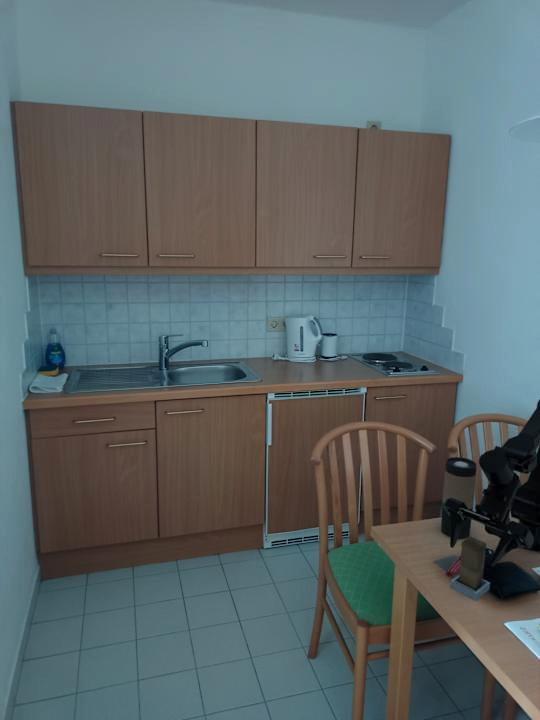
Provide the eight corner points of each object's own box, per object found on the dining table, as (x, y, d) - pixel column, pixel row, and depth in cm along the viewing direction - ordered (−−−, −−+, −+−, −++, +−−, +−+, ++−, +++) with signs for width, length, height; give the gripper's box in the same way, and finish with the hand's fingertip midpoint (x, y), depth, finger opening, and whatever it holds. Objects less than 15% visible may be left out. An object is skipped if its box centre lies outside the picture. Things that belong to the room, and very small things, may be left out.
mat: (454, 556, 129) (454, 554, 128) (477, 571, 122) (477, 569, 122) (432, 563, 125) (432, 561, 125) (455, 579, 119) (455, 577, 119)
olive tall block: (466, 581, 118) (470, 536, 116) (481, 588, 115) (486, 543, 113) (457, 587, 116) (461, 542, 113) (473, 595, 113) (478, 549, 111)
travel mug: (434, 528, 142) (439, 458, 138) (458, 524, 144) (464, 455, 140) (451, 542, 134) (458, 469, 131) (476, 538, 137) (483, 466, 133)
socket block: (463, 578, 120) (464, 569, 119) (489, 590, 115) (490, 581, 115) (450, 588, 116) (450, 579, 115) (475, 602, 111) (476, 593, 111)
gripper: (550, 525, 116) (523, 589, 111) (470, 496, 130) (443, 552, 125) (539, 502, 110) (510, 570, 105) (457, 474, 123) (427, 533, 118)
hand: (470, 556), depth 113 cm, fingers open, 9 cm apart
